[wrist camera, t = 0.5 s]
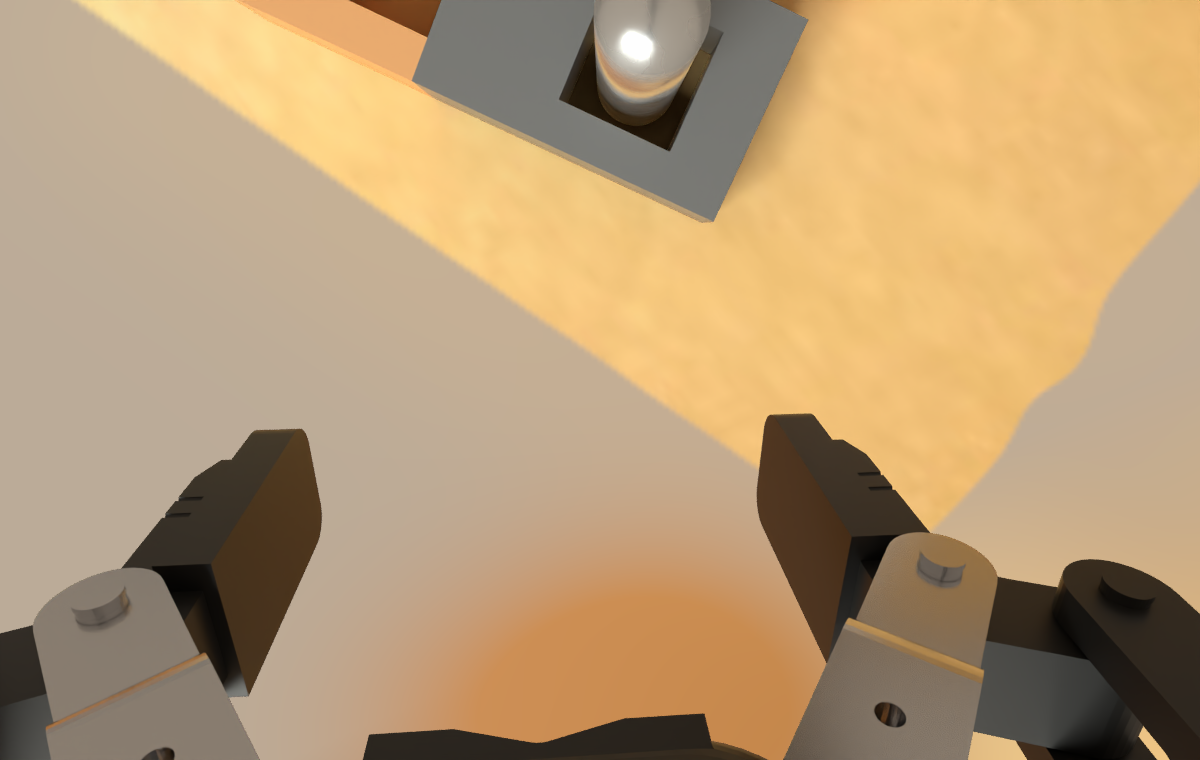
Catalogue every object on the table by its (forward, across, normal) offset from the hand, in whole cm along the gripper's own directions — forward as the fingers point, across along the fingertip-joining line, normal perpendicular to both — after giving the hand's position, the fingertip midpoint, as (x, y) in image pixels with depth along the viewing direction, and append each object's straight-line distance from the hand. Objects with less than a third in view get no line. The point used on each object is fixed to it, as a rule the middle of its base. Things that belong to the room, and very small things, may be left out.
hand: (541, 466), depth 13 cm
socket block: (+29, 0, -8) cm, 30 cm away
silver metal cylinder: (+28, -5, -5) cm, 29 cm away
